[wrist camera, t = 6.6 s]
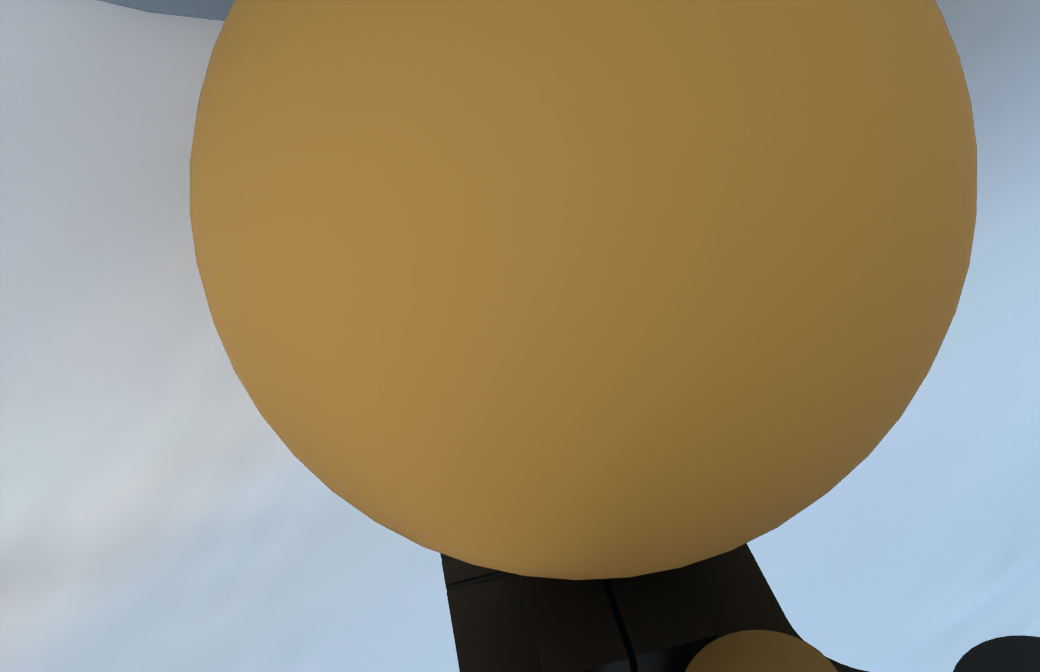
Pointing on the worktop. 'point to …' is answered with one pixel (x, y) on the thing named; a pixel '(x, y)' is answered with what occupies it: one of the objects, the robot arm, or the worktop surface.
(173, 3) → the disc
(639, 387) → the ball
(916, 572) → the worktop surface
